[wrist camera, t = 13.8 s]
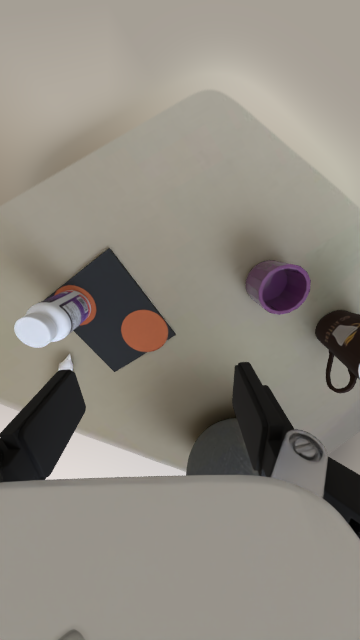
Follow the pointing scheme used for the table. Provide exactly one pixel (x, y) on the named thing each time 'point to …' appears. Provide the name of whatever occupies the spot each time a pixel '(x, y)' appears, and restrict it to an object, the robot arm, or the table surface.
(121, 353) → the placemat
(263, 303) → the cup
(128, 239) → the table surface
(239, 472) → the bowl
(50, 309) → the pill bottle
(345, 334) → the coffee mug
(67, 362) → the white pencil
